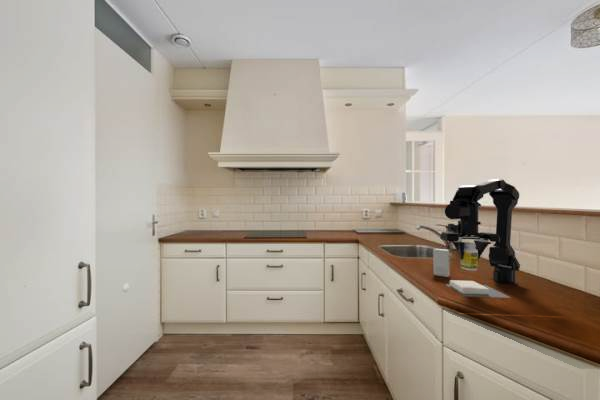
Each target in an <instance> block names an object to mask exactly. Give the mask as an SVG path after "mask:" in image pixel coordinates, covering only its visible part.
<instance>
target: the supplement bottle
mask: <svg viewBox="0 0 600 400" xmlns="http://www.w3.org/2000/svg"><path fill="white" fill-rule="evenodd" d="M475 248H476V244H475V243H474V242H468V241H467V242H464V254H463V259H462V260H461V259H460V268H461V269H463V270H466V271H478V269H479V268H478V267H479V266H478V265H479V260H478V251H477V250H476V249H475Z"/></svg>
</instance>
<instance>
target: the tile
mask: <svg viewBox="0 0 600 400" xmlns="http://www.w3.org/2000/svg"><path fill="white" fill-rule="evenodd" d="M449 284H450V286H451V287H453V288H454V289H456V290H457V291H459V292H461V293H462V294H478V295H488V294H489V289H488V288H486V287H484V286H482V285H483V284H481V283H478V282H476V281H475V280H458V279H457V280H455V279H454V280H453V279H450V280H449Z"/></svg>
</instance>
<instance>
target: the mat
mask: <svg viewBox="0 0 600 400" xmlns="http://www.w3.org/2000/svg"><path fill="white" fill-rule="evenodd" d="M481 285H482V286H484V287H486V288H488V289H489V294H488V295H478V294H462V293H461V292H459V291H457V290H456V289H454V288H453V287H451V286H450V283H445V286H447V287H448V288H450V289H452V290H453V291H455V292H456V293H458V294H460V295H461V296H462V297H468V298H470V297H472V298H473V297H474V298H475V297H476V298H503V299H505V298H508V299H511V297H510V296H508V295H506V294H505V293H504V292H501V291H499V290H496V289H495V288H493V287H490V286H488V285H487V284H481Z"/></svg>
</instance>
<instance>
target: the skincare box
mask: <svg viewBox="0 0 600 400" xmlns="http://www.w3.org/2000/svg"><path fill="white" fill-rule="evenodd" d="M432 258H433V259H432V261H433V263H432V264H433V275H434V276H438V277H439V276H440V277H446V278H449V277H450V250H449V249H446V248H445V249H443V248H434V249H432Z"/></svg>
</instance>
